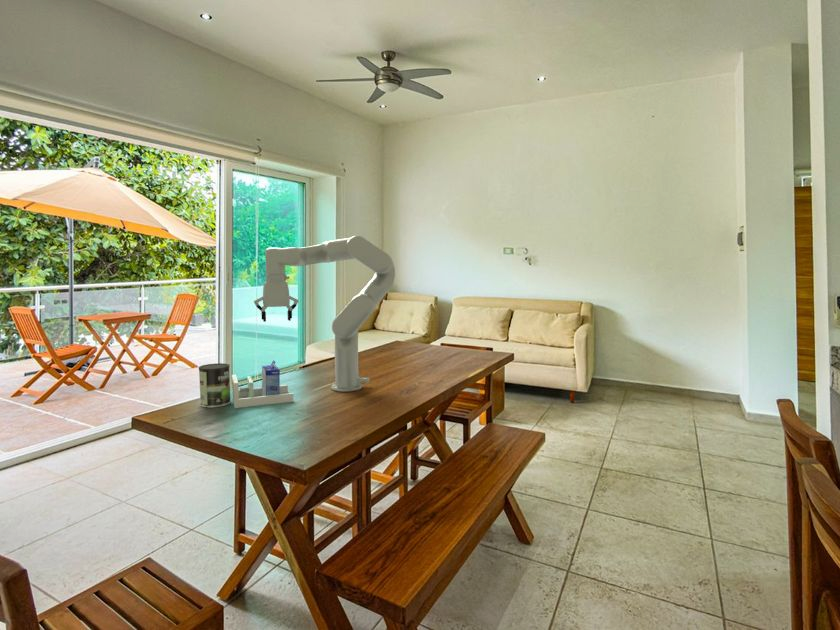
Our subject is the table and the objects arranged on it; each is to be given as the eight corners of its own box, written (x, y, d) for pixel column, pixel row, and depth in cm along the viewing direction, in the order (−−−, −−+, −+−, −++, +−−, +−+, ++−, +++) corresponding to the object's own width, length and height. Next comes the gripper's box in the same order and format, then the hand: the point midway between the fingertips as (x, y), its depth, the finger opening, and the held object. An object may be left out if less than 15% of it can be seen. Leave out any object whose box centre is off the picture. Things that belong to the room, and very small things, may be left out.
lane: (287, 392, 185) (286, 370, 184) (293, 401, 172) (292, 377, 171) (232, 397, 176) (231, 374, 176) (234, 408, 163) (233, 383, 163)
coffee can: (236, 400, 173) (235, 363, 171) (219, 408, 163) (217, 369, 161) (212, 399, 175) (210, 362, 173) (193, 406, 165) (192, 368, 163)
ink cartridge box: (280, 401, 172) (280, 363, 171) (265, 403, 170) (264, 364, 169) (276, 394, 181) (275, 358, 180) (261, 396, 179) (260, 359, 177)
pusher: (251, 396, 178) (250, 375, 177) (253, 403, 168) (253, 382, 167) (239, 397, 176) (238, 376, 175) (241, 405, 166) (240, 383, 165)
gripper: (296, 278, 192) (297, 319, 194) (252, 278, 185) (253, 320, 187) (299, 278, 185) (300, 320, 187) (254, 279, 178) (255, 322, 180)
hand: (277, 320), depth 187 cm, fingers open, 9 cm apart
